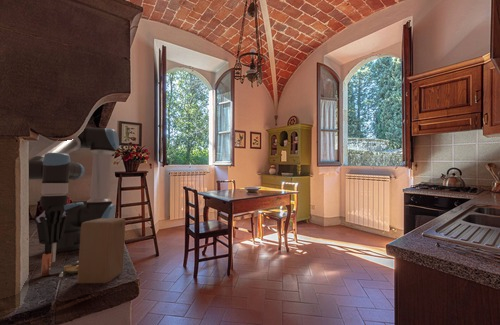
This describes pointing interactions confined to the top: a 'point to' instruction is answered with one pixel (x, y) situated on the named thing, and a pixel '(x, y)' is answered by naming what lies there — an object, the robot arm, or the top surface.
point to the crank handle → (67, 268)
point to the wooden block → (101, 250)
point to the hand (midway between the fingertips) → (49, 262)
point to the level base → (66, 274)
